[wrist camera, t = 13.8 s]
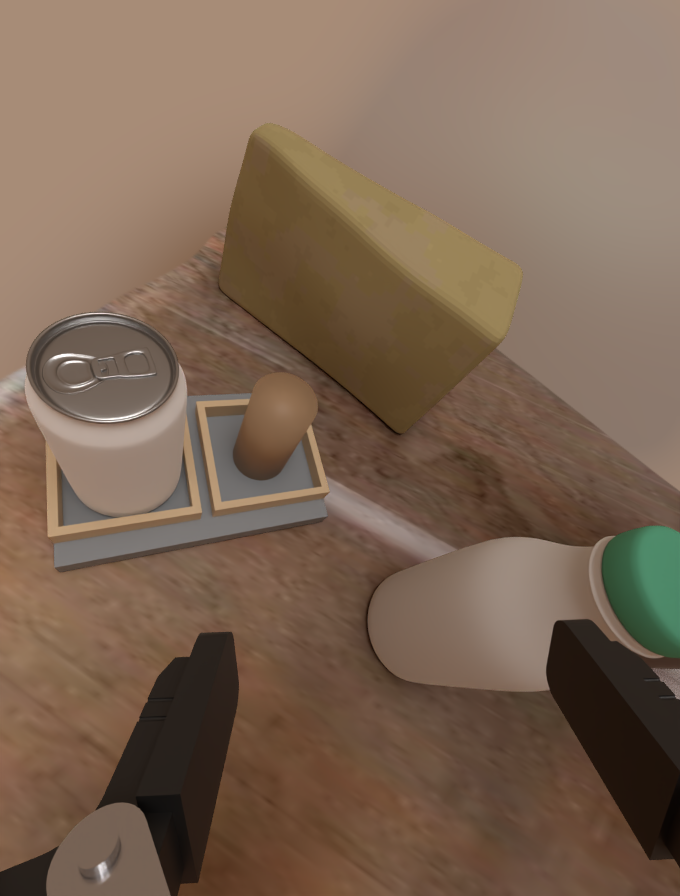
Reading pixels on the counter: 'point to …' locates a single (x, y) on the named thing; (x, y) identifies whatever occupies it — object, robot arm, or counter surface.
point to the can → (110, 409)
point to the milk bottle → (525, 607)
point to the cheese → (361, 277)
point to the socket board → (209, 480)
